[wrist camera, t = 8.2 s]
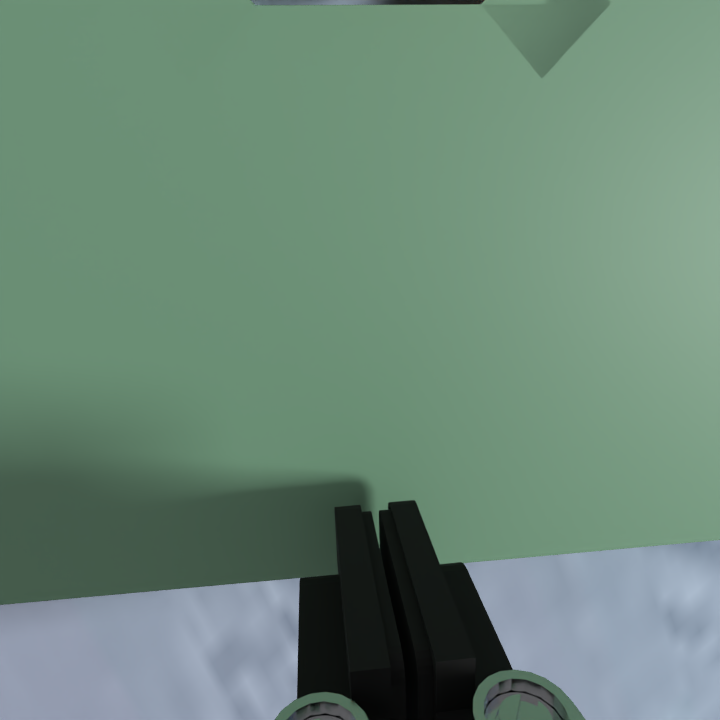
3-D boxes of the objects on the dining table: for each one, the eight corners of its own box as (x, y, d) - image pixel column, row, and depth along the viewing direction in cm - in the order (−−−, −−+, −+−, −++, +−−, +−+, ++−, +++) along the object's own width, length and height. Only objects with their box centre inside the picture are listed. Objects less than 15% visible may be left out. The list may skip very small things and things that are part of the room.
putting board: (698, 492, 14) (759, 536, 12) (13, 548, 13) (-40, 608, 11) (878, -573, 9) (1041, -800, 7) (-307, -682, 7) (-533, -1011, 5)
